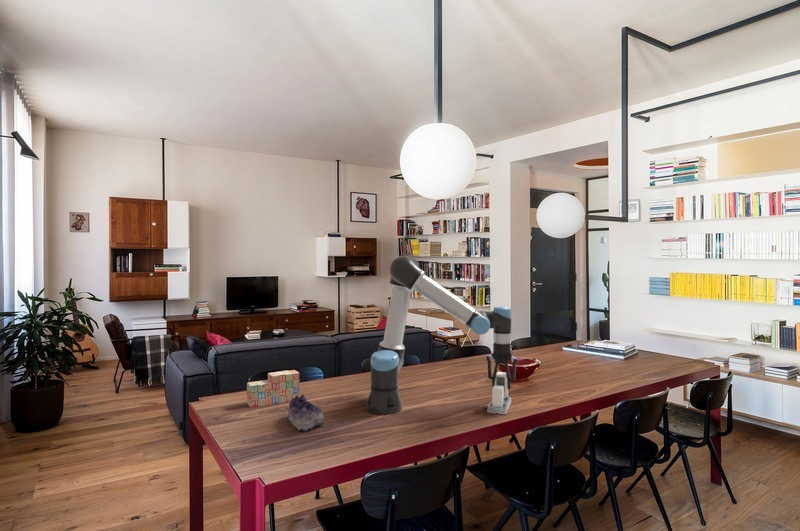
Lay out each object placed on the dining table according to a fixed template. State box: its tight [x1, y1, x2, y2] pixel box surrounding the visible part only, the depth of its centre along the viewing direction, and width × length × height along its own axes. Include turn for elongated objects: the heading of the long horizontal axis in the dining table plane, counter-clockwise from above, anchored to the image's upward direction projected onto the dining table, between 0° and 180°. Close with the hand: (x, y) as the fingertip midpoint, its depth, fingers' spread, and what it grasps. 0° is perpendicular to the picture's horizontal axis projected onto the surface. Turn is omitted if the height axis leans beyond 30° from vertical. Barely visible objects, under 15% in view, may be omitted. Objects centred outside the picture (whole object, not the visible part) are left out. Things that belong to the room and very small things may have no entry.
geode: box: [287, 394, 324, 432], centre depth 181 cm, size 20×12×10 cm, turn 35°
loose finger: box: [496, 371, 507, 398], centre depth 205 cm, size 4×5×10 cm
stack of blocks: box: [246, 369, 301, 408], centre depth 205 cm, size 21×6×12 cm, turn 122°
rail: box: [486, 396, 512, 415], centre depth 202 cm, size 18×8×2 cm, turn 159°
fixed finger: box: [491, 385, 504, 408], centre depth 198 cm, size 4×5×10 cm
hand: (501, 395), depth 206 cm, fingers closed on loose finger, 4 cm apart
